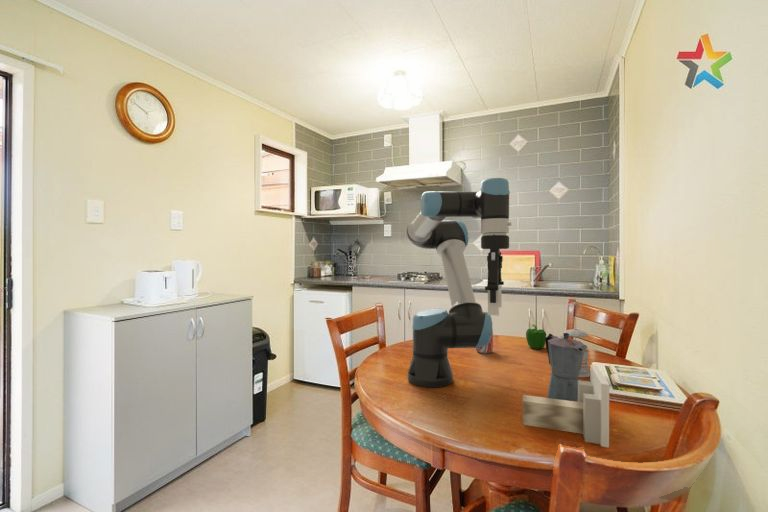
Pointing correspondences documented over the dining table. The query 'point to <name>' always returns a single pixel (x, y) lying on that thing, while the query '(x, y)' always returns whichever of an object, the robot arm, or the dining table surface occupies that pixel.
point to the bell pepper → (536, 338)
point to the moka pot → (564, 366)
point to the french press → (582, 334)
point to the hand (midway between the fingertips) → (495, 311)
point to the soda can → (486, 348)
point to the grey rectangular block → (553, 413)
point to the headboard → (595, 407)
